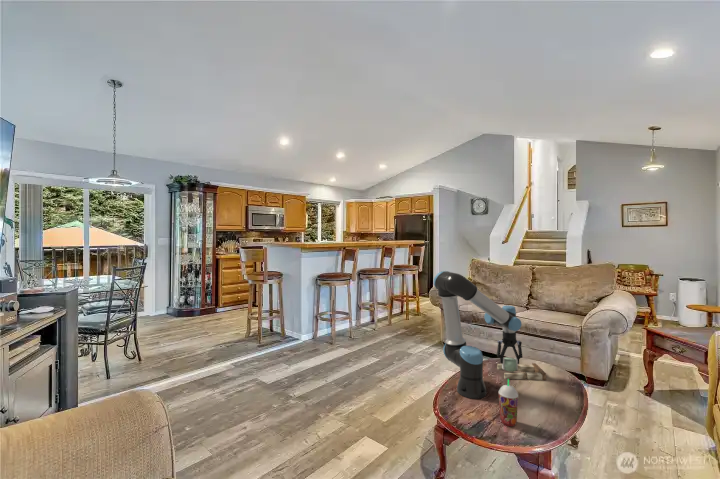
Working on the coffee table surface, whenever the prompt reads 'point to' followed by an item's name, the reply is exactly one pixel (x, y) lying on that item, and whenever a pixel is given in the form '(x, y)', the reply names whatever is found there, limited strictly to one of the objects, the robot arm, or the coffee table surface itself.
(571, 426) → the coffee table surface
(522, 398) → the coffee table surface
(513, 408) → the smoothie
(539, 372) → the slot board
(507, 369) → the pale green rounded lump
